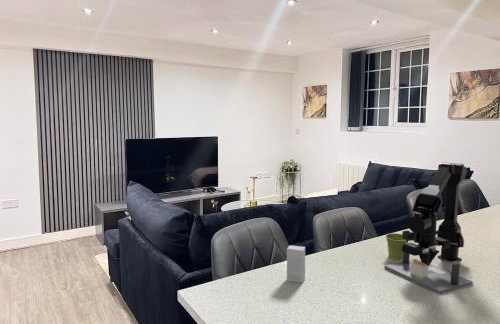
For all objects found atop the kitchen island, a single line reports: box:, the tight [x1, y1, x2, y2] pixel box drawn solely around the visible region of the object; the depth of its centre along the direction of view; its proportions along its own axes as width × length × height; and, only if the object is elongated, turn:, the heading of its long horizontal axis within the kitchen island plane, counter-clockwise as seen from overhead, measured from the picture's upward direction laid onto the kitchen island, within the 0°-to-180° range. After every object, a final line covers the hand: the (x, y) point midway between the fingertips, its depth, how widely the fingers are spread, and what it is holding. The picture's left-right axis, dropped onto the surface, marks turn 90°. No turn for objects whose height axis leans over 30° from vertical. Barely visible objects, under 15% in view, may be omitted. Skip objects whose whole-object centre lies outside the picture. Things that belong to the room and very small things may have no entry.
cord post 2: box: [450, 262, 461, 285], centre depth 131 cm, size 2×2×7 cm
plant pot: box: [385, 232, 409, 260], centre depth 159 cm, size 9×9×9 cm
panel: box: [384, 258, 474, 295], centre depth 140 cm, size 17×24×1 cm
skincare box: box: [286, 244, 306, 284], centre depth 137 cm, size 6×4×12 cm
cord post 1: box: [402, 252, 411, 264], centre depth 150 cm, size 2×2×7 cm
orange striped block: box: [410, 258, 428, 278], centre depth 138 cm, size 3×5×5 cm, turn 26°
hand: (425, 268), depth 140 cm, fingers closed
